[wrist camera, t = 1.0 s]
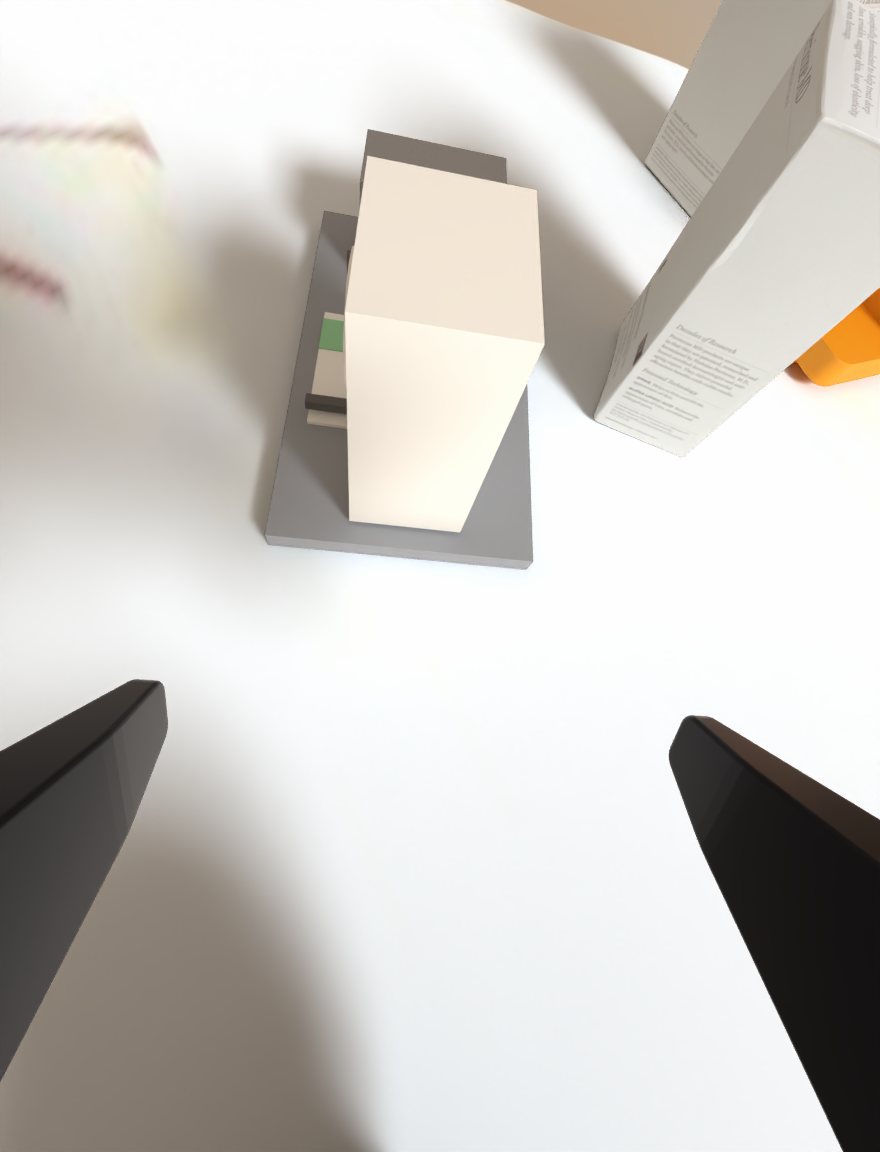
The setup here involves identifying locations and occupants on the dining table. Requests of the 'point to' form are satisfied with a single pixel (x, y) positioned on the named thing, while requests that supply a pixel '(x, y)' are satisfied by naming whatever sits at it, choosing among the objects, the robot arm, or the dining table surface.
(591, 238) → the dining table surface
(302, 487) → the gray flat rectangular panel
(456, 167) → the dark gray block
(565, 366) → the dining table surface
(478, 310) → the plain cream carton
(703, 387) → the skincare box
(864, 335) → the bracket
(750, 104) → the supplement box
